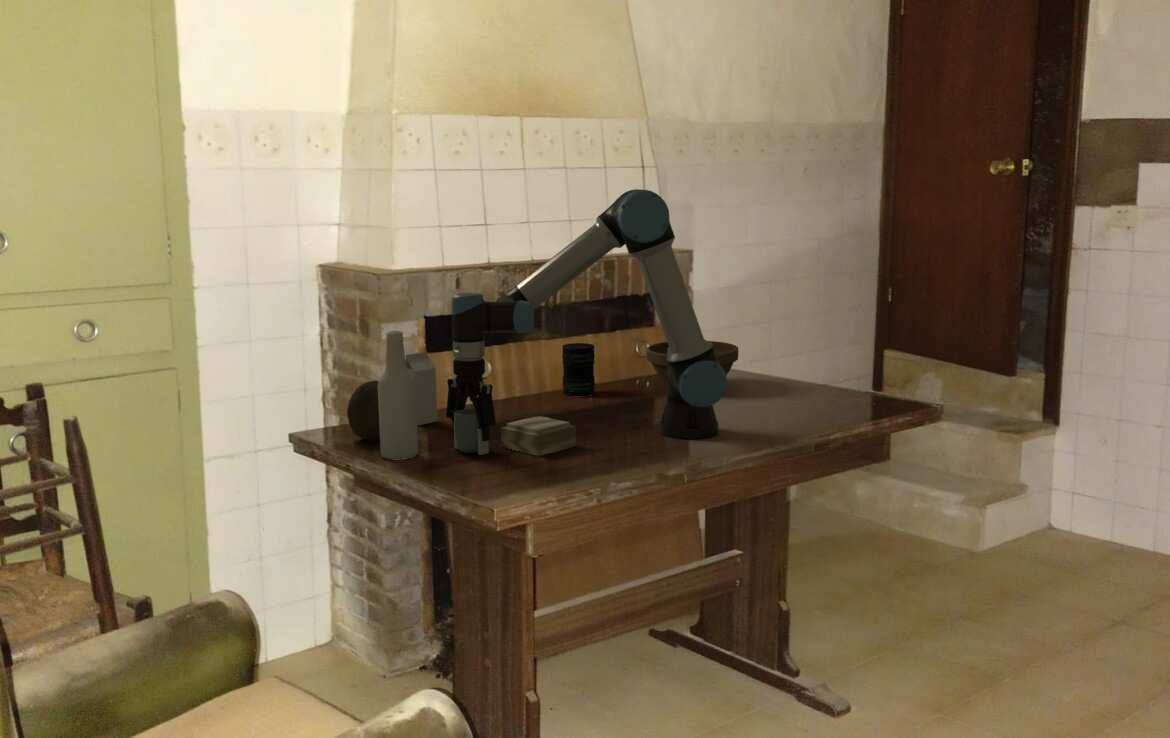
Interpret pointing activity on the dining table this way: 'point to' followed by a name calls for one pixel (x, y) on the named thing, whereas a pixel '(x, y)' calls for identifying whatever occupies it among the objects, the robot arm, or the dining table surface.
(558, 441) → the pedestal
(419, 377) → the milk carton
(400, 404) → the alcohol
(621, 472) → the dining table surface
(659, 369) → the flower pot
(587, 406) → the dining table surface
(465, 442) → the cup
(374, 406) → the black ball
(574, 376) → the storage jar
